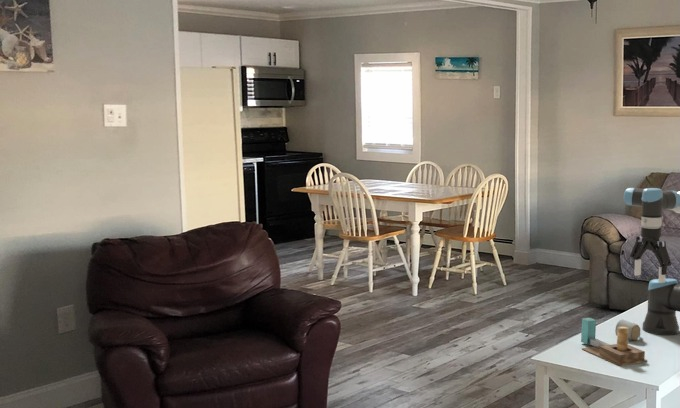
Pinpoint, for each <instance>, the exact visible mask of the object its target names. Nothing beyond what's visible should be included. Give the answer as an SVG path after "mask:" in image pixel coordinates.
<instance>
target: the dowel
mask: <svg viewBox="0 0 680 408" xmlns="http://www.w3.org/2000/svg"><path fill="white" fill-rule="evenodd" d="M616 336H617V337H616V344H617V350H618V351H620V352H625V351H627V347H628V345H629V344H628V343H629V339H628V328H627V327H618V333H617V335H616Z"/></svg>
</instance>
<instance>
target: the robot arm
mask: <svg viewBox="0 0 680 408" xmlns="http://www.w3.org/2000/svg"><path fill="white" fill-rule="evenodd" d="M623 202H624V203H625V204H626V205H627V206H631V207H641V223H640V224H641V226H642V227H640V235H638V236H636V237H635V238H636V239H635V243H634V245H633V248H632V250H631V252H630V254H629V256H630V257H631V258H632V259H633V267H634V272H633V273H634V276H635V277H636V276H641V275H642V256H643V255H644V254H645V252H646V251H652V253H654V256H655V257H656V259H657V261H658V263H659V267H658V278H654V279H651V280H650V281H649V283H648V288H647V291H648V292H647V293H648V294H647V295H648V296H647V311H646V314H645V317H644V321H643V322H642V325H641V326H642V328H641V329H642V330H643V331H644V332H647V333H650V334H655V335H661V336H662V335H664V336H669V335H670V336H671V335H672V336H673V335H677V334H679V333H680V326H679V323H678V319H677V315H676V312H678V313H679V312H680V284H679V281H678V279H676V278H668V277H667V278H666V275H667V273H668V272H667V269H668V267H669V266H670V267H671V266H672V262H671V259H670V256H669V252H668V250H667V244H666V243H667V242H666V241H665V240H662V241H661V240H660V239H661V237H662V228H661V227H662V222H663V221H662V220H663V219H662V216H663V215H662V213H663V212H662V211H673V212H674V213H676V214H680V191H676V190H673V189H672V190H671V189H670V190H669V189H668V190H662V189H661V188H659V187H658V188H657V187H646V188H641V187H640V188H637V187H628V188H626V189H625V191H624V193H623Z"/></svg>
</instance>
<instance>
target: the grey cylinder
mask: <svg viewBox="0 0 680 408" xmlns="http://www.w3.org/2000/svg"><path fill="white" fill-rule="evenodd" d="M618 327H627V328H628V341H629V340H630V341H636V340H637V339H639V338H640V336H641V327H640V325H638V324H637V323H635V322H631V321H628V320H625V319H619V320H618V322H617V323H616V325H615V329H614V331H615V336H617V333H618Z"/></svg>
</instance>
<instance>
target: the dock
mask: <svg viewBox="0 0 680 408" xmlns="http://www.w3.org/2000/svg"><path fill="white" fill-rule="evenodd" d="M614 348H616V350H615V349H614ZM581 350H582V351H584V352H586V353H589V354H591V355H593V356H595V357H598V358H600V359H602V360H604V361H606V362H609V363H611V364H612V365H613V364H614V365H615V366H618V367H621V366H627V365H633V364H640V363H645V362H648V360H647V359H645V358H646V357H645V356H646V355H645V354H646V351H645V350H642V349H640V348H637V347H635V346H632V345H630V344H628V347H627V351H625V352H620V351H618V350H617V343H615V344H614V343H612V344H610V345H606V346H600V348H597V347H595V346H588V347H582V348H581Z"/></svg>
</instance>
